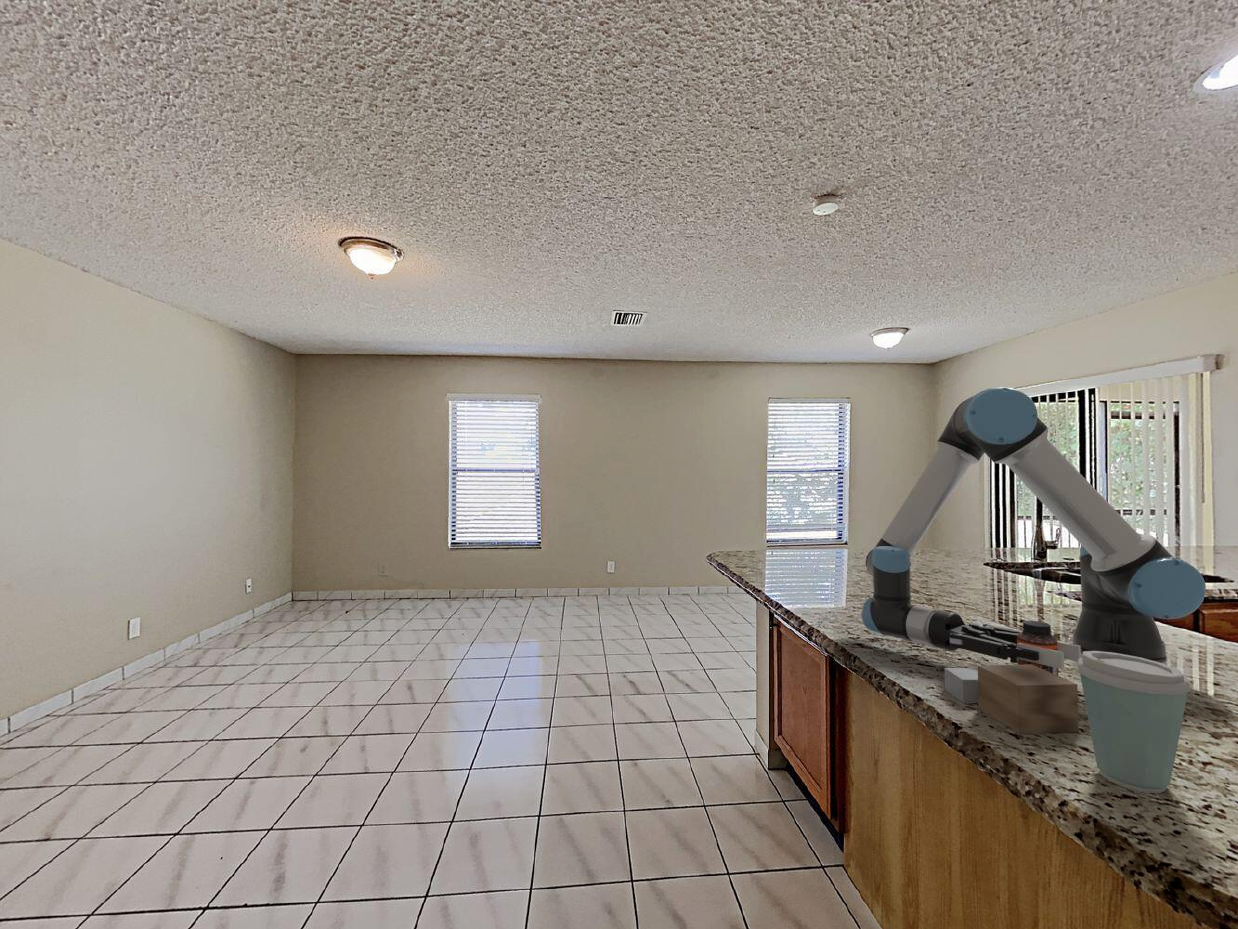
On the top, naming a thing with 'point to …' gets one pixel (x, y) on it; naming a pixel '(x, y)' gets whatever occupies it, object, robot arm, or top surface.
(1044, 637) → the supplement bottle
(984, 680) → the walnut block
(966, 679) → the grey block
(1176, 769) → the top surface
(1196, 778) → the top surface
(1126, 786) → the disposable coffee cup
